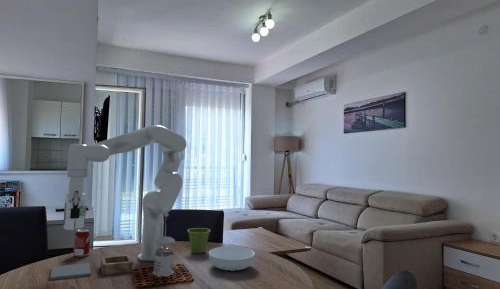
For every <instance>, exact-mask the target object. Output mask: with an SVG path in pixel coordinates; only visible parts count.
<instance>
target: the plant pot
mask: <svg viewBox="0 0 500 289" xmlns="http://www.w3.org/2000/svg"><path fill="white" fill-rule="evenodd" d="M187 232H188V236H189V242H190V244H189V246H190V252H191V253H192V252H193V253H192V254H195V253H198V254H201V253H202V252H204V253H206V250H207V245H208V240H209V236H210V232H211V229H209V228H205V227H196V228H195V227H194V228H188V229H187ZM202 254H203V253H202Z"/></svg>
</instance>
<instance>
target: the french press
mask: <svg viewBox="0 0 500 289" xmlns="http://www.w3.org/2000/svg"><path fill="white" fill-rule="evenodd" d="M163 217H165V219H167V217H169V212H168V213H165V214H163ZM166 233H167V225H165V228H164V235H163V237H160V238H158V239H156V240H155V242H156V243H159V246H160V244H162V246H163V248H160V249H157V250H156V252H157V253H155V258H154V261H153V271H152V273H153V274H154V275H157V276H170V275H172V274H173V273H174V272H175V271H174V258H175V257H174V255H175V253H174V249H173V248H172V249H171V247H170V248H169V247H166V245H168V244H170V245H171V244H173V243H175V241H176V239H174V238H173V237H171V236H167V234H166ZM161 253H162V254H163V257H161ZM155 260H156V261H155Z"/></svg>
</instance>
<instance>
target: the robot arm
mask: <svg viewBox="0 0 500 289" xmlns="http://www.w3.org/2000/svg"><path fill="white" fill-rule="evenodd" d="M152 144H158V145H159V147H160V149H161V152H162V156H163V160H162V163H161V165H160V167H159V170H158V172H157V174H156V176H155V178H154V182H153V183H154V187H155V188H157V189H158V190H159V191H156V190H152V191H149V192H147V193H146V194H144V196H143V198H142V203H141V204H142V213H143V214H142V215H143V216H142V217H143V218H142V219H143V220H142V234H141V235H142V238H141V253H139V254H138V255H137V259H138V260H140V261H144V262H154V258H155V253H157V252H156V250H157V249H160V248H164V246H163V244H160V246H159V243H156V242H155V240H156V239H158V238H160V237H164V224H165V223H164V217H165V216H164V214H165V213H168V214H169V212H170V211H171V210H172V209H173V208H174V206H175V203H176V201H177V198H178V197H179V195H180V192H181V189H182V186H183V178H182V175H181V174H180V173H178V171H179V168H180V166H181V157H180V153H182V152H184V151H185V150H186V148H187V140H186V138H185V137H183V135H181V134H179V133H177V132H175V131H173V130H172V129H169V128H167V127H165V126H162V125H159V124H156V125H155V124H154V125H148V126H145V127H142V128H139V129H136V130H132V131H130V132H127V133H124V134H121V135H120V134H119V135H118V136H115V137H111V138H108V139H104V140H102V141H98V142H95V143H92V144H85V143H84V144H83V143H71V144H70V145H69V147H68V157H67V158H68V160H67V170H66V171H67V172H66V177H67V178H69V183H68V193H67V194H68V202H70V201H72V208H71V213H70V218H71V219H75V218H79V213H80V208H79V203H80V202H81V200H82V195H83V193H84V186H85V185H84V184H85V178H88V174H89V162H92V163H103V162H105V161H108V159H109V158H110V156H113V155H117V154H125V153H130V152H133V151H136V150H138V149H141V148H143V147H147V146H149V145H152ZM74 193H75V196H74ZM73 200H74V201H73ZM170 248H171V247H170ZM171 249H173V248H171ZM161 257H163V254H162V253H161ZM155 261H156V260H155Z"/></svg>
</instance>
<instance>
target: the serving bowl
mask: <svg viewBox="0 0 500 289" xmlns="http://www.w3.org/2000/svg"><path fill="white" fill-rule="evenodd" d="M255 256H256V252H255V251H254V250H253V249H249V248H247V247H246V248H245V247H242V246H219V247H214V248H212V249H210V250H209V251H208V257H209V261H210V262H211V263H210V264H212V265H213V266H214V267H215V268H218V269H220V270H224V271H228V270H230V271H231V272H234V271H235V270H237V271H241V270H244V269H245V270H246V269H247V268H249V267H250V266H251V265H252V264H253V262H254V260H255ZM230 271H229V272H230ZM235 272H236V271H235Z"/></svg>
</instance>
